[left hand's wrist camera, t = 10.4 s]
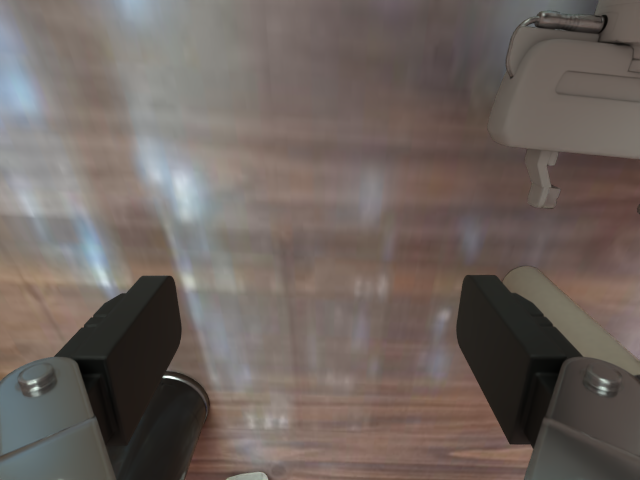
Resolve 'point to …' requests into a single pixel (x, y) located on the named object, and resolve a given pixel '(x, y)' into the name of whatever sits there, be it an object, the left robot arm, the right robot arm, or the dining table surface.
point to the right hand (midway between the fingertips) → (595, 211)
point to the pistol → (249, 476)
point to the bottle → (570, 318)
